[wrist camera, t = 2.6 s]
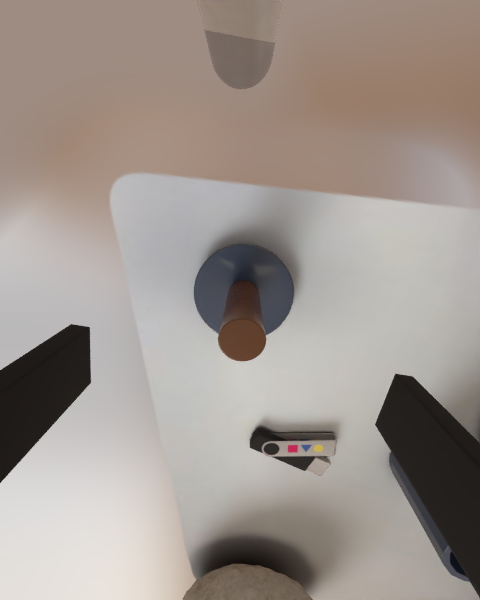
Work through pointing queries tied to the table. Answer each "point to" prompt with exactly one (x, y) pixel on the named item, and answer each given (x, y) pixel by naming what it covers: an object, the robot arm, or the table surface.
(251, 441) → the usb flash drive
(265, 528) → the table surface
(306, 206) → the table surface
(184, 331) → the table surface
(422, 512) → the tin
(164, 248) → the table surface
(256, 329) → the lid
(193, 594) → the decorative shell
